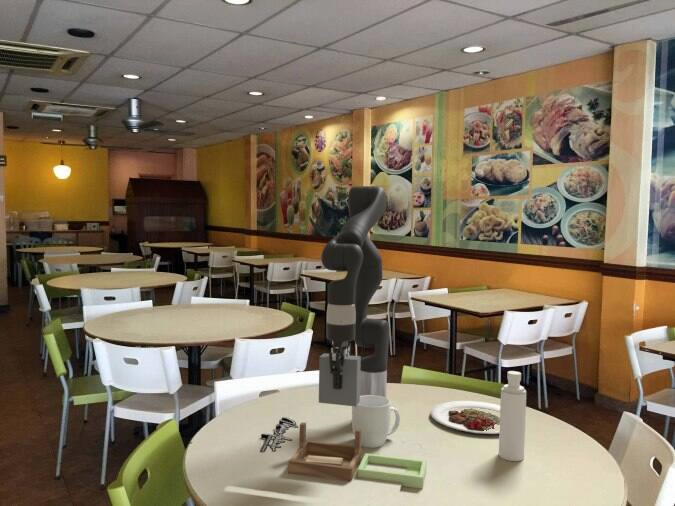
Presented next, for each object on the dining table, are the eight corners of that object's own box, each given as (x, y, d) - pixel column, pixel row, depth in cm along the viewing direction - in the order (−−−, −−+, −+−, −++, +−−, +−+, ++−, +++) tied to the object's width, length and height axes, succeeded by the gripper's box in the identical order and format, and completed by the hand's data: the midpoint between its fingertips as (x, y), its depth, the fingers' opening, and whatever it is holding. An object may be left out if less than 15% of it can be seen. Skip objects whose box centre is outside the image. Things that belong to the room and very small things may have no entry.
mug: (388, 434, 169) (389, 391, 168) (408, 447, 159) (409, 402, 158) (344, 441, 162) (345, 397, 161) (362, 456, 152) (363, 409, 152)
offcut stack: (306, 465, 144) (306, 453, 143) (344, 469, 141) (344, 458, 141) (301, 472, 139) (301, 460, 139) (340, 477, 137) (340, 465, 137)
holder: (365, 463, 148) (365, 453, 147) (426, 471, 144) (426, 460, 144) (357, 480, 138) (357, 469, 138) (422, 488, 134) (423, 477, 134)
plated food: (490, 403, 201) (490, 393, 201) (545, 433, 173) (546, 422, 173) (415, 410, 192) (415, 400, 192) (460, 443, 164) (461, 432, 163)
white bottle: (505, 462, 150) (508, 370, 149) (494, 451, 157) (497, 364, 156) (528, 460, 151) (532, 369, 150) (516, 450, 158) (520, 363, 157)
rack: (304, 454, 152) (305, 418, 152) (362, 461, 149) (363, 424, 148) (288, 476, 139) (288, 437, 138) (351, 485, 135) (352, 444, 135)
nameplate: (270, 416, 179) (301, 417, 178) (270, 421, 179) (301, 422, 178) (251, 451, 151) (288, 453, 151) (251, 456, 151) (288, 458, 151)
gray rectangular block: (322, 397, 148) (323, 353, 148) (359, 401, 146) (360, 356, 145) (318, 402, 144) (319, 356, 144) (356, 406, 142) (357, 360, 141)
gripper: (348, 326, 136) (347, 395, 137) (361, 317, 150) (359, 380, 151) (319, 324, 138) (318, 393, 139) (334, 315, 152) (332, 377, 153)
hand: (339, 386), depth 145 cm, fingers closed on gray rectangular block, 4 cm apart
